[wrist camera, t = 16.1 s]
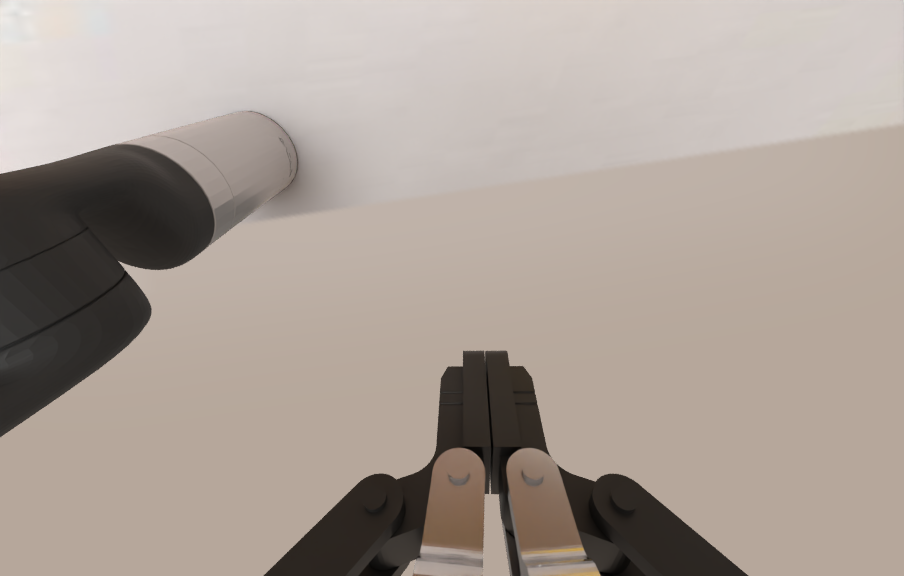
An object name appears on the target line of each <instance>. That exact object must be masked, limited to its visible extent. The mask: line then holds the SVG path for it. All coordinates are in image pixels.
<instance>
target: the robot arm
mask: <svg viewBox="0 0 904 576" xmlns="http://www.w3.org/2000/svg"><path fill="white" fill-rule="evenodd" d="M296 171H297V157H296V152H295V149H294V146H293V144H292V142H291V140H290V139H289V137H288V135H287V134H286V133H285V132H284V130H283V129H282V128H281V127H280V126H279V125H277V124H276V123H275V122H274V121H272V120H271V119H269V118H268V117H266V116H264V115H261V114H259V113H255V112H250V111H242V112H236V113H232V114H229V115H225V116H221V117H216V118H213V119H209V120H205V121H201V122H197V123H194V124H190V125H186V126H182V127H178V128H175V129H171V130H167V131H163V132H160V133H156V134H152V135H148V136H144V137H141V138H138V139H134V140H130V141H126V142H123V143H119V144H115V145H112V146H108V147H104V148H101V149H97V150H94V151H91V152H87V153H84V154H81V155H78V156H74V157H71V158H67V159H64V160H60V161H56V162H53V163H49V164H45V165H40V166H36V167H31V168H26V169H22V170H17V171H12V172H8V173H2V174H0V437H1V436H3V435H4V434H5V433H7V432H8V431H10V430H11V429H13V428H14V427H16V426H17V425H19V424H20V423H22V422H23V421H25V420H26V419H28V418H29V417H30V416H32V415H33V414H35V413H36V412H38V411H39V410H41V409H42V408H44V407H45V406H47V405H48V404H49V403H51V402H52V401H54V400H55V399H57V398H58V397H60V396H61V395H62V394H64V393H65V392H67V391H68V390H70V389H71V388H72V387H74V386H75V385H77V384H78V383H79V382H81V381H82V380H84V379H85V378H87V377H88V376H89V375H91V374H92V373H94V372H95V371H96V370H98V369H99V368H100V367H102V366H103V365H104V364H106V363H107V362H108V361H110V360H111V359H112V358H114V357H115V356H116V355H117V354H118V353H120V352H121V351H122V350H123V349H124V348H125V347H127V346H128V345H129V344H130V343H131V342H132V341H133V339H135V338H136V337H137V336H138V335H139V333H140V332H141V331H142V330H143V328H144V327H145V325H146V324H147V323H148V321H149V319H150V316H151V306H150V303H149V301H148V299H147V297H146V296H145V294H144V293H143V291H142V290H141V289H140V287H139V286H138V285H137V283H136V282H135V281H134V280H133V279H132V278H131V276H130V275H129V274H128V273H127V272H126V271H125V270H124V268H123V267H122V265H121V264H120V263H119V262H118V261H120V262H122V263H125V264H128V265H131V266H135V267H138V268H143V269H151V270H163V269H171V268H174V267H177V266H180V265H183V264H184V263H186V262H188V261H189V260H191V259H193V258H194V257H195V256H197V255H198V254H199V253H201V252H202V251H203V250H204V249H205V248H206V247H208V246H209V245H211V244H212V243H213V242H215V241H216V240H217V239H219V238H220V237H221V236H222V235H224V234H225V233H226V232H227V231H229V230H230V229H232V228H233V227H234V226H235V225H237V224H238V223H239V222H241V221H242V220H243V219H245V218H246V217H247V216H249V215H250V214H251V213H253V212H254V211H255V210H257V209H258V208H259V207H261V206H262V205H263V204H265V203H266V202H267V201H269V200H270V199H271V198H273V197H274V196H275V195H277V194H278V193H279V192H281V191H282V190H283V189H284V188H286V187H287V186H288V185H289V184H290V183H291V182H292V180H293V179H294V177H295V174H296ZM490 480H491V494H499V499H500V500H499V501H500V511H501V519H502V525H503V532H504V539H505V546H506V552H507V559H508V565H509V572H510V576H748V575H747V574H746V573H744V572H743V571H742V570H741V569H739V568H738V567H737V566H736V565H735V564H733V563H732V562H731V561H730V560H729V559H727V558H726V557H725V556H724V555H723V554H722V553H720V552H719V551H718V550H717V549H716V548H714V547H713V546H712V545H711V544H710V543H708V542H707V541H706V540H705V539H704V538H702V537H701V536H700V535H699V534H698V533H696V532H695V531H694V530H692V528H690V527H689V526H688V525H687V524H685V523H684V522H683V521H682V520H681V519H680V518H678V517H677V516H676V515H675V514H674V513H672V512H671V511H670V510H669V509H668V508H666V507H665V506H664V505H663V504H662V503H660V502H659V501H658V500H657V499H656V498H654V497H653V496H652V495H651V494H650V493H648V492H647V491H646V490H645V489H644V488H642V487H641V486H640V485H639V484H638V483H636V482H635V481H634V480H632V479H630V478H628V477H626V476H623V475H619V474H607V475H604V476H601V477H600V478H599V479H598V480H597V481H596V482H594V481H591V480H588V479H585V478H582V477H579V476H576V475H573V474H571V473H569V472H567V471H565V470H564V469H562V468H561V467H559V466H558V465H557V464H556V463H555V461H554V460H553V459H552V458H551V456H550V455H549V452H548V450H547V447H546V442H545V437H544V433H543V428H542V423H541V419H540V414H539V409H538V405H537V400H536V395H535V390H534V386H533V381H532V378H531V376H530V375H529V373H528V372H527V371H526V369H525V368H524V367H523V366H509V360H508V353H507V351H486V352H485V356H484V351H463V367H448V368H447V369H446V371H445V373H444V374H443V376H442V378H441V388H440V401H439V416H438V432H437V446H436V451H435V454H434V457H433V458H432V460H431V461H430V463H429V464H428V465H427V466H426V467H425V468H423V469H422V470H420V471H419V472H417V473H414V474H412V475H408V476H406V477H403V478H400V479H397V480H396V479H395V478H393V477H392V476H390V475H387V474H374V475H371V476H368V477H366V478H364V479H363V480H361V481H360V482H359V483H358V484H357V485H356V486H355V487H354V488H353V489H352V490H351V491H350V492H349V493H348V494H347V495H346V496H345V497H344V498H343V499H342V500H341V501H340V502H339V503H337V505H336V506H335V507H333V508H332V509H331V510H330V511H329V512H328V513H327V514H326V515H325V516H324V517H323V518H322V520H320V521H319V522H318V523H317V524H316V525H315V526H314V527H313V528H312V529H311V530H310V531H309V532H308V533H307V534H306V535H305V536H304V537H303V538H302V539H301V540H300V541H299V542H298V543H297V544H296V545H295V546H293V548H291V549H290V550H289V552H287V553H286V554H285V555H284V556H283V557H282V558H281V559H280V560H279V561H278V562H277V563H276V564H275V565H274V566H273V567H272V568H271V569H270V570H269V571H268V572H267V573H266V574H265V575H264V576H401V574H402V573H403V572H404V571H405V569H406V568H407V566H408V565H409V563H410V561H412V560H415V559H416V563H415V567H414V571H413V576H483V538H484V499H485V497H484V496H485V494H489V481H490Z"/></svg>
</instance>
